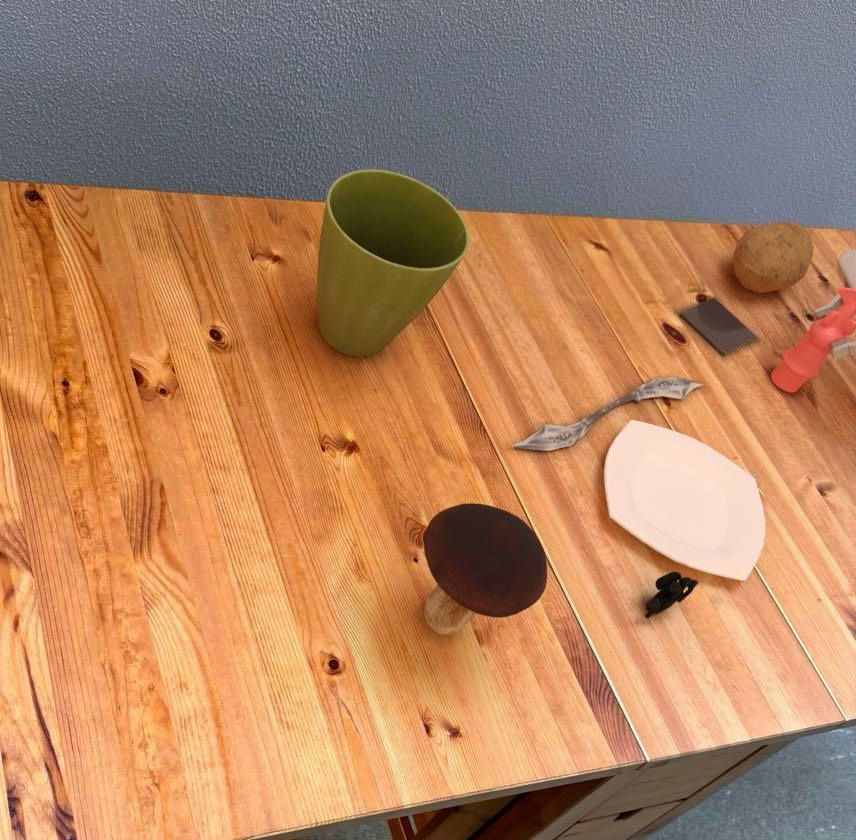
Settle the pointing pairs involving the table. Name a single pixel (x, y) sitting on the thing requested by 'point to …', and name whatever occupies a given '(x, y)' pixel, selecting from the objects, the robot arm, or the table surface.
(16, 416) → the table surface
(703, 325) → the coaster
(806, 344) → the figurine
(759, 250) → the potato
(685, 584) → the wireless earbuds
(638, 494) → the plate
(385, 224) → the flower pot
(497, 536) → the decorative mushroom
